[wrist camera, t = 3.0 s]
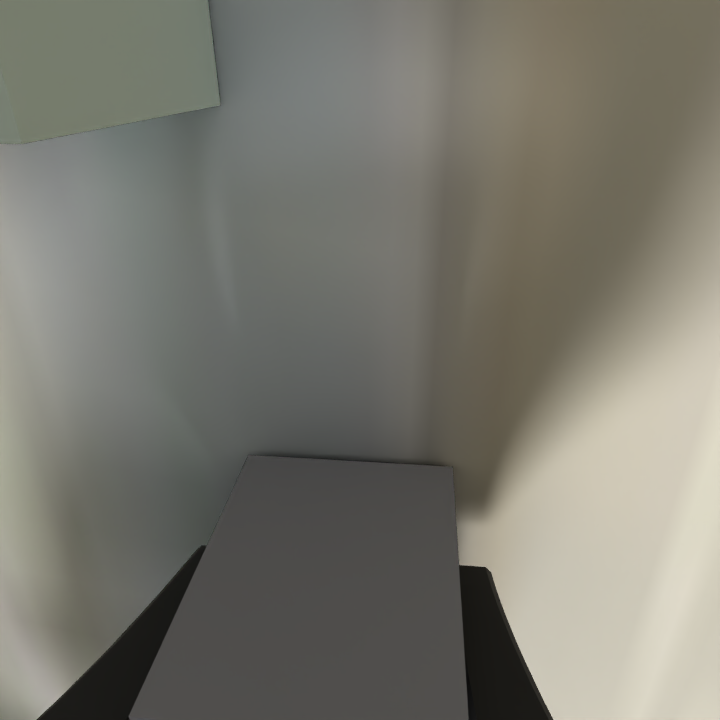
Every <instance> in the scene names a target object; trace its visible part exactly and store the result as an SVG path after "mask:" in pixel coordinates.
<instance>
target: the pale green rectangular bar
mask: <svg viewBox="0 0 720 720" xmlns="http://www.w3.org/2000/svg"><path fill="white" fill-rule="evenodd" d="M215 106H220V96H219V88H218V80H217V71H216V63H215V54H214V46H213V37H212V29H211V21H210V12H209V4H208V0H0V144H25V143H30V142H35V141H40V140H45V139H50V138H55V137H61V136H66V135H71V134H76V133H81V132H86V131H91V130H97V129H102V128H107V127H112V126H117V125H122V124H127V123H133V122H138V121H143V120H148V119H153V118H158V117H163V116H169V115H174V114H179V113H184V112H189V111H194V110H199V109H205V108H210V107H215Z"/></svg>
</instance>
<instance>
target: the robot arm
mask: <svg viewBox="0 0 720 720" xmlns="http://www.w3.org/2000/svg"><path fill="white" fill-rule="evenodd" d="M205 549H206V546H203V545H202V546H201V547H200V548H198V549H197V550H196V551H195V553H194V554H193V555H192V556H191V557H190V558H189V560H188V561H187V562H186V563H185V564H184V565H183V567H182V568H181V569H180V570H179V571H178V572H177V574H176V575H175V576H174V577H173V578H172V579H171V581H170V582H169V583H168V584H167V585H166V586H165V587H164V589H163V590H162V591H161V592H160V593H159V594H158V595H157V597H156V598H155V599H154V600H153V601H152V602H151V603H150V604H149V606H148V607H147V608H146V609H145V610H144V611H143V612H142V613H141V614H140V616H139V617H138V618H137V619H136V620H135V621H134V622H133V623H132V624H131V625H130V626H129V627H128V629H127V630H126V631H125V632H124V633H123V634H122V635H121V636H120V637H119V638H118V639H117V640H116V642H115V643H114V644H113V645H112V646H111V647H110V648H109V649H108V650H107V651H106V652H105V653H104V654H103V655H102V656H101V657H100V658H99V659H98V660H97V661H96V662H95V663H94V664H93V665H92V666H91V667H90V668H89V669H88V670H87V671H86V672H85V673H84V674H83V675H82V676H81V677H80V678H79V679H78V680H77V681H76V682H75V683H74V684H73V685H72V686H71V687H70V688H69V689H68V690H67V691H66V692H65V693H64V694H63V695H62V696H61V697H60V698H59V699H58V700H57V701H56V702H55V703H54V704H53V705H52V706H51V707H50V708H49V709H47V710H46V711H45V712H44V713H43V714H42V715H41V716H40V717H39V718H38V719H37V720H130V719H129V715H130V712H131V710H132V708H133V706H134V704H135V701H136V699H137V697H138V695H139V693H140V690H141V688H142V686H143V684H144V682H145V680H146V677H147V675H148V673H149V671H150V669H151V666H152V664H153V662H154V660H155V658H156V656H157V653H158V651H159V649H160V647H161V645H162V642H163V640H164V638H165V636H166V634H167V632H168V629H169V627H170V625H171V623H172V621H173V618H174V616H175V614H176V612H177V610H178V608H179V605H180V603H181V601H182V599H183V597H184V594H185V592H186V590H187V588H188V586H189V584H190V581H191V579H192V577H193V575H194V573H195V570H196V568H197V566H198V564H199V562H200V560H201V557H202V555H203V553H204V551H205ZM459 575H460V590H461V606H462V622H463V638H464V654H465V669H466V685H467V701H468V717H469V720H553V718H552V716H551V714H550V712H549V710H548V708H547V706H546V705H545V703H544V701H543V698H542V696H541V694H540V692H539V690H538V688H537V686H536V684H535V682H534V679H533V677H532V675H531V673H530V671H529V669H528V667H527V665H526V663H525V660H524V658H523V656H522V654H521V651H520V649H519V647H518V645H517V642H516V640H515V637H514V635H513V633H512V630H511V628H510V625H509V623H508V620H507V618H506V615H505V613H504V610H503V607H502V605H501V602H500V599H499V596H498V593H497V590H496V587H495V584H494V581H493V577H492V574H491V572H490V571H489V570H488V569H487V568H486V567H475V566H462V565H459Z"/></svg>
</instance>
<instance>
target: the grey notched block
mask: <svg viewBox="0 0 720 720" xmlns="http://www.w3.org/2000/svg"><path fill="white" fill-rule="evenodd" d="M129 719H130V720H469V717H468V701H467V685H466V669H465V654H464V638H463V622H462V606H461V590H460V575H459V559H458V543H457V527H456V511H455V496H454V480H453V467H446V466H429V465H412V464H395V463H377V462H360V461H343V460H325V459H308V458H291V457H273V456H256V455H248V457H247V459H246V461H245V463H244V466H243V468H242V470H241V472H240V474H239V477H238V479H237V481H236V483H235V485H234V488H233V490H232V492H231V494H230V496H229V498H228V501H227V503H226V505H225V507H224V509H223V512H222V514H221V516H220V518H219V520H218V522H217V525H216V527H215V529H214V531H213V533H212V536H211V538H210V540H209V542H208V544H207V546H206V549H205V551H204V553H203V555H202V557H201V560H200V562H199V564H198V566H197V568H196V570H195V573H194V575H193V577H192V579H191V581H190V584H189V586H188V588H187V590H186V592H185V594H184V597H183V599H182V601H181V603H180V605H179V608H178V610H177V612H176V614H175V616H174V618H173V621H172V623H171V625H170V627H169V629H168V632H167V634H166V636H165V638H164V640H163V642H162V645H161V647H160V649H159V651H158V653H157V656H156V658H155V660H154V662H153V664H152V666H151V669H150V671H149V673H148V675H147V677H146V680H145V682H144V684H143V686H142V688H141V690H140V693H139V695H138V697H137V699H136V701H135V704H134V706H133V708H132V710H131V712H130V715H129Z"/></svg>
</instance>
